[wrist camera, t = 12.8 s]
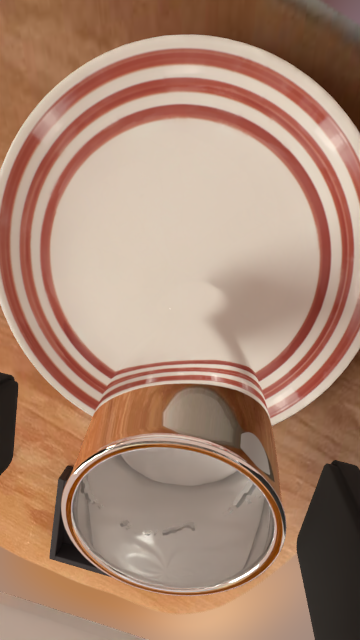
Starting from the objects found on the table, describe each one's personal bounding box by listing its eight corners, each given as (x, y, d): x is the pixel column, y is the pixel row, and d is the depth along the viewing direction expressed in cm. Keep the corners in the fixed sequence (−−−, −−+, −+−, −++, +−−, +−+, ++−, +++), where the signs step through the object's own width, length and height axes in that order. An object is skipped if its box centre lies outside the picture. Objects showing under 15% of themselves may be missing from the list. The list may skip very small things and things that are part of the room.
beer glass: (259, 289, 22) (336, 472, 8) (228, 376, 25) (249, 621, 11) (157, 262, 22) (64, 404, 8) (137, 352, 25) (44, 570, 11)
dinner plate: (413, 370, 26) (440, 390, 22) (101, 458, 32) (87, 484, 28) (303, -27, 20) (317, -75, 17) (-46, 168, 26) (-83, 159, 23)
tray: (190, 498, 31) (188, 514, 30) (171, 575, 34) (168, 594, 32) (67, 465, 32) (58, 478, 31) (57, 542, 35) (48, 559, 33)
